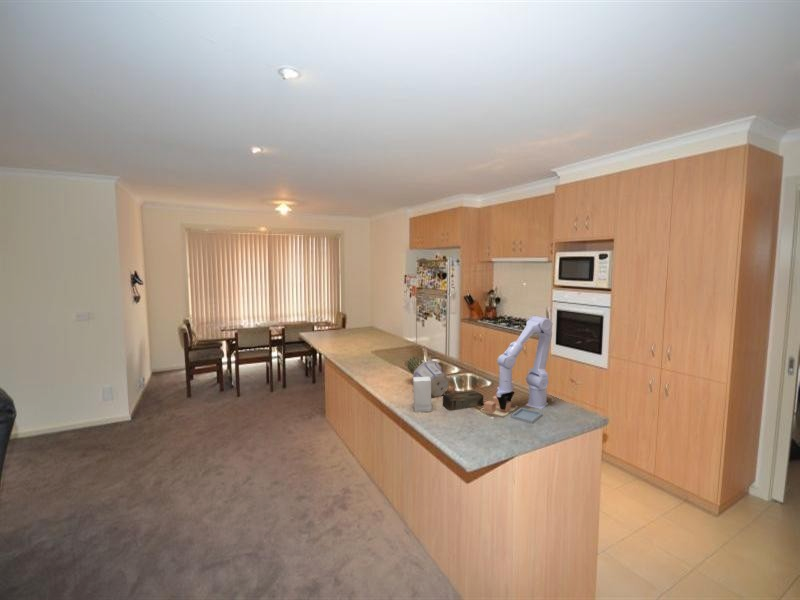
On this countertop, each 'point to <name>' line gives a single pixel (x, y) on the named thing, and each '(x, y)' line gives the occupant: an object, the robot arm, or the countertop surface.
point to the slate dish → (526, 415)
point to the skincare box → (422, 394)
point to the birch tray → (500, 413)
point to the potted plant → (430, 374)
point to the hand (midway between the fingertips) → (504, 407)
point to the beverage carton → (462, 400)
